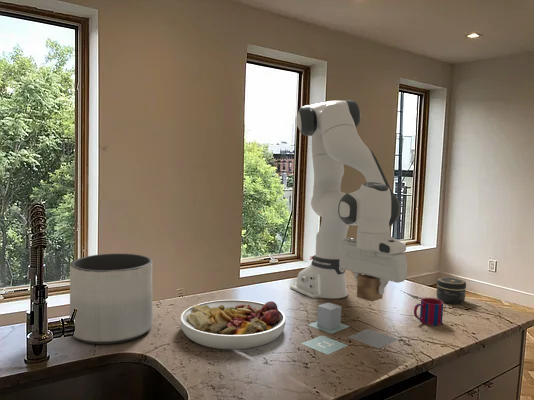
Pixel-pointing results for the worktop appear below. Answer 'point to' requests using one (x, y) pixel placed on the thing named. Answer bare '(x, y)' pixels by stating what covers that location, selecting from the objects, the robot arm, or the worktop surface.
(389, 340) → the slate coaster
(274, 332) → the bowl
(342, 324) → the code tile
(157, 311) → the worktop surface
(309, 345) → the code tile
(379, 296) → the walnut block
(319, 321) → the blue-grey block
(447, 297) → the jar
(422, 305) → the mug
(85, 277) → the planter
